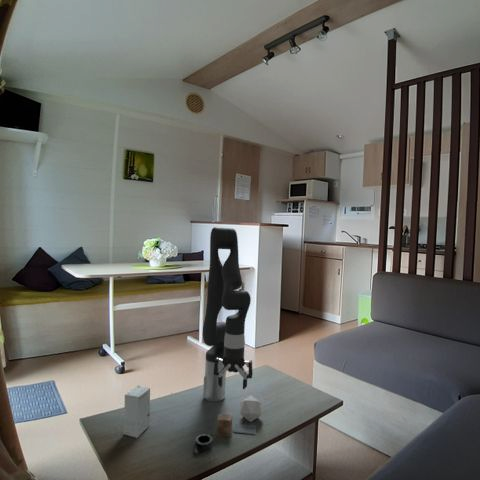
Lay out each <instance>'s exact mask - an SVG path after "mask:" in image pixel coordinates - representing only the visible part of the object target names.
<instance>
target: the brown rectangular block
mask: <svg viewBox="0 0 480 480" xmlns="http://www.w3.org/2000/svg"><path fill="white" fill-rule="evenodd" d="M216 422H217V423H216V436H220V437H231V436H232V431H233V414H231V413H219V414H218V416H217V421H216Z"/></svg>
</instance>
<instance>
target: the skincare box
mask: <svg viewBox="0 0 480 480" xmlns="http://www.w3.org/2000/svg"><path fill="white" fill-rule="evenodd" d="M150 408H151V387H147V386H142V385H137V386H135V387H134V388H132V389H130V390H129V392H127V393H125V394H124V414H123V418H124V419H123V434H124V435H125V436H129V437H131V438H136V439H139V437H140V436H141V434H142V433H143V432H144V431H146V429H148V428H149V427H150V415H151V413H150V412H151V411H150V410H151V409H150Z"/></svg>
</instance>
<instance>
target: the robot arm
mask: <svg viewBox="0 0 480 480" xmlns="http://www.w3.org/2000/svg"><path fill="white" fill-rule="evenodd" d="M209 238H210V239H209V242H210V243H209V250H210V251H209V269H208V278H207V294H206V296H207V297H206V309H205V313H204V314H205V315H204V319H203V320H204V321H203V325H202V339H203V342H204V343H205V344H204V345H206V346H209V347H210V346H211V347H210V348H209V349H208V350H206V352H205V364H204V365H205V369H204V376H203V389H202V390H203V391H202V392H203V393H202V399H204V400H206V401H208V402H214V403H216V402H217V403H218V402H221V401H223V400H224V399H225V397H226V381H227V379H226V377H227V376H226V375H227V372H229V373H232V372H233V373H239V374H240V376H241V377H242V378H243V379H242V390H245V389H246V388H247V387H248V379H252V378H253V360H251V359H249V360H245V345H246V344H245V343H246V341H245V340H246V339H245V338H246V337H245V325H246V324H245V323H246V318H247V314H248V311H249V308H250V305H251V300H252V298H251V294H250V293H249V292H248V291H247V290H244V289H243V290H238V289H241V287H242V286H243V281H242V280H243V279H242V276H241V270H240V264H239V241H238V240H239V239H238V233H237V230H236V229H234V228H232V227H220V226H219V227H218V226H214V227H212V229H211V230H210V236H209ZM219 250H229V255H228V257H227V258H226V260H225V261H224V263H223V264H222V261H221V260H220V259H221V258H220V255H219ZM222 308H224V310H227V311H237V312H236V313H235V314H230V315H228V316H227V317H226V318H225V321H218V319H219V314H220V312H221V309H222ZM244 366H246V368H248V373H247V372H246V371H245V367H244Z"/></svg>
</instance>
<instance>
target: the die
mask: <svg viewBox="0 0 480 480" xmlns="http://www.w3.org/2000/svg"><path fill="white" fill-rule="evenodd" d="M239 407H240V408H239V410H240V411H239V414H240V415H241V416H242V417H244V418H245V419H246V421H248V422H249V423H252V422H253V421H255V420H256V419H258V418H259V417H260V416H262V413H263V411H262V410H263V408H262V403H261V401H259V400H258V399H257V398H256V397H254V395H252V394H250V395H249V396H248V397H246V398H245V399H243V400H241V402H240V404H239Z"/></svg>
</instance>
